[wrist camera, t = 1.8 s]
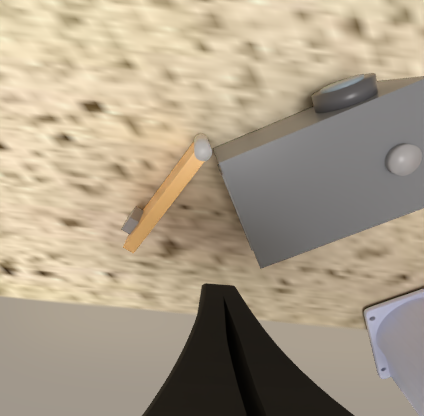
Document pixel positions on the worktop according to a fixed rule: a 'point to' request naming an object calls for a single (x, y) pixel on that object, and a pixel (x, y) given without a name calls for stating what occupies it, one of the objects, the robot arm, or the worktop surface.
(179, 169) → the side door
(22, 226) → the worktop surface
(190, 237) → the worktop surface
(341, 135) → the camera body
